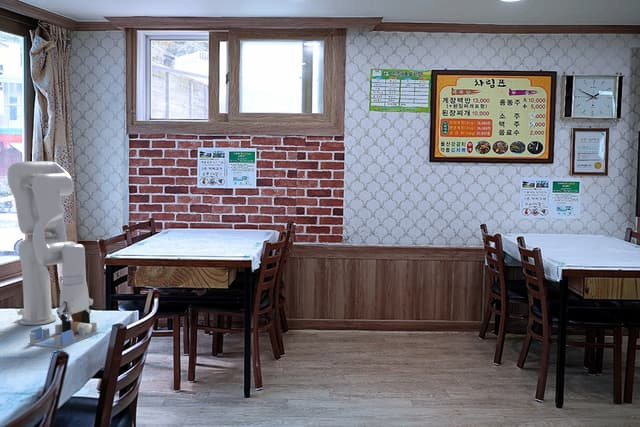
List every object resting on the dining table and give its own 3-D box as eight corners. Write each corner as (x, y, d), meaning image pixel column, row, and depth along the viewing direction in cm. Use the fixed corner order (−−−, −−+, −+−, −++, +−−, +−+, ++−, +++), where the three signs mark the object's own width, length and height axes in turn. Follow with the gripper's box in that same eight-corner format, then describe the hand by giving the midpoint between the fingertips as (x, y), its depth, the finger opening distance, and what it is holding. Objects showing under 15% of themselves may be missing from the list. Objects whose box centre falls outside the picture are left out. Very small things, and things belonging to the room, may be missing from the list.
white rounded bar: (60, 332, 227) (58, 323, 226) (67, 328, 230) (65, 319, 230) (86, 335, 224) (84, 325, 223) (92, 331, 227) (91, 321, 226)
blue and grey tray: (28, 344, 215) (27, 331, 214) (68, 330, 233) (67, 317, 232) (60, 348, 210) (59, 334, 210) (98, 333, 228) (98, 320, 228)
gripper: (82, 274, 235) (84, 321, 236) (47, 283, 218) (49, 333, 220) (99, 276, 232) (101, 323, 234) (65, 285, 216) (67, 335, 217)
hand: (76, 328), depth 227 cm, fingers open, 9 cm apart
